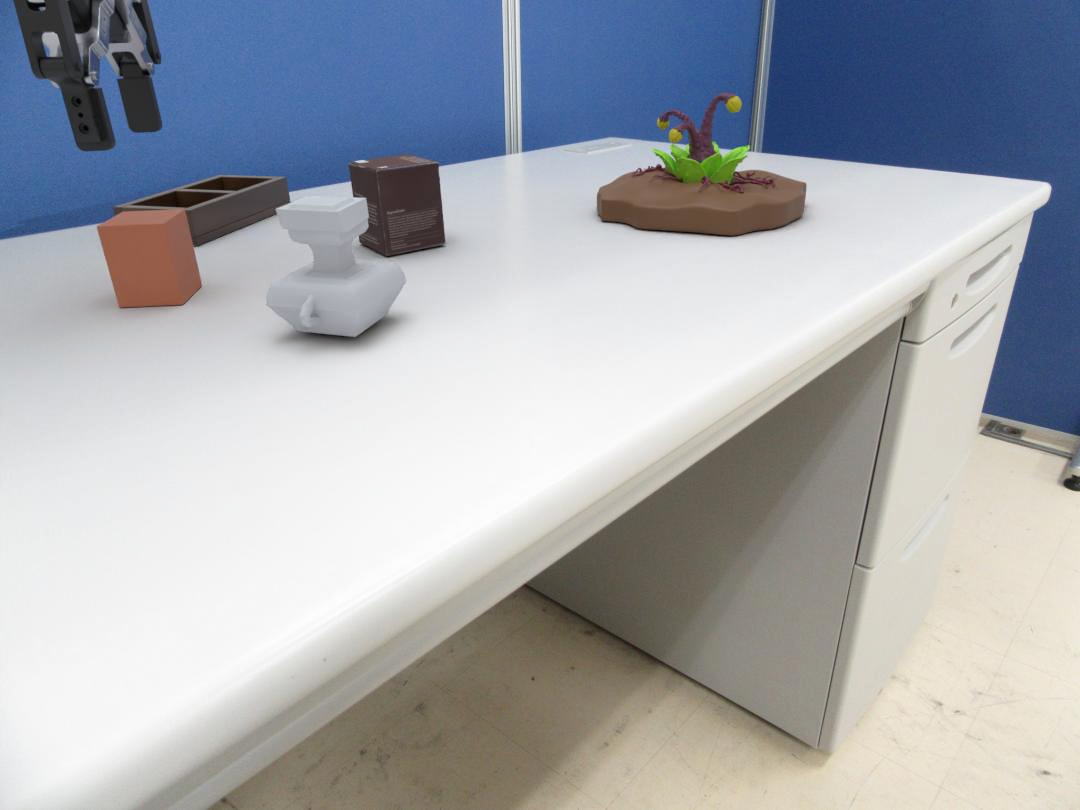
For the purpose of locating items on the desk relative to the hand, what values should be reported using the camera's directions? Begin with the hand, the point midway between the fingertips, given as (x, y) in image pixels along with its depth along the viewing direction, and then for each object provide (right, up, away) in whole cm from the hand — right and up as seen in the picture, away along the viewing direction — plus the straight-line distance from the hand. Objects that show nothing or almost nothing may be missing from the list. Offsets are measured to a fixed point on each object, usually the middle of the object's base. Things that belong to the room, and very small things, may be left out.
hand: (124, 140), depth 55 cm
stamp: (+16, -13, -2) cm, 21 cm away
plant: (+45, +1, +26) cm, 52 cm away
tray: (-5, 0, +26) cm, 26 cm away
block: (0, -10, +5) cm, 11 cm away
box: (+16, -4, +17) cm, 24 cm away
